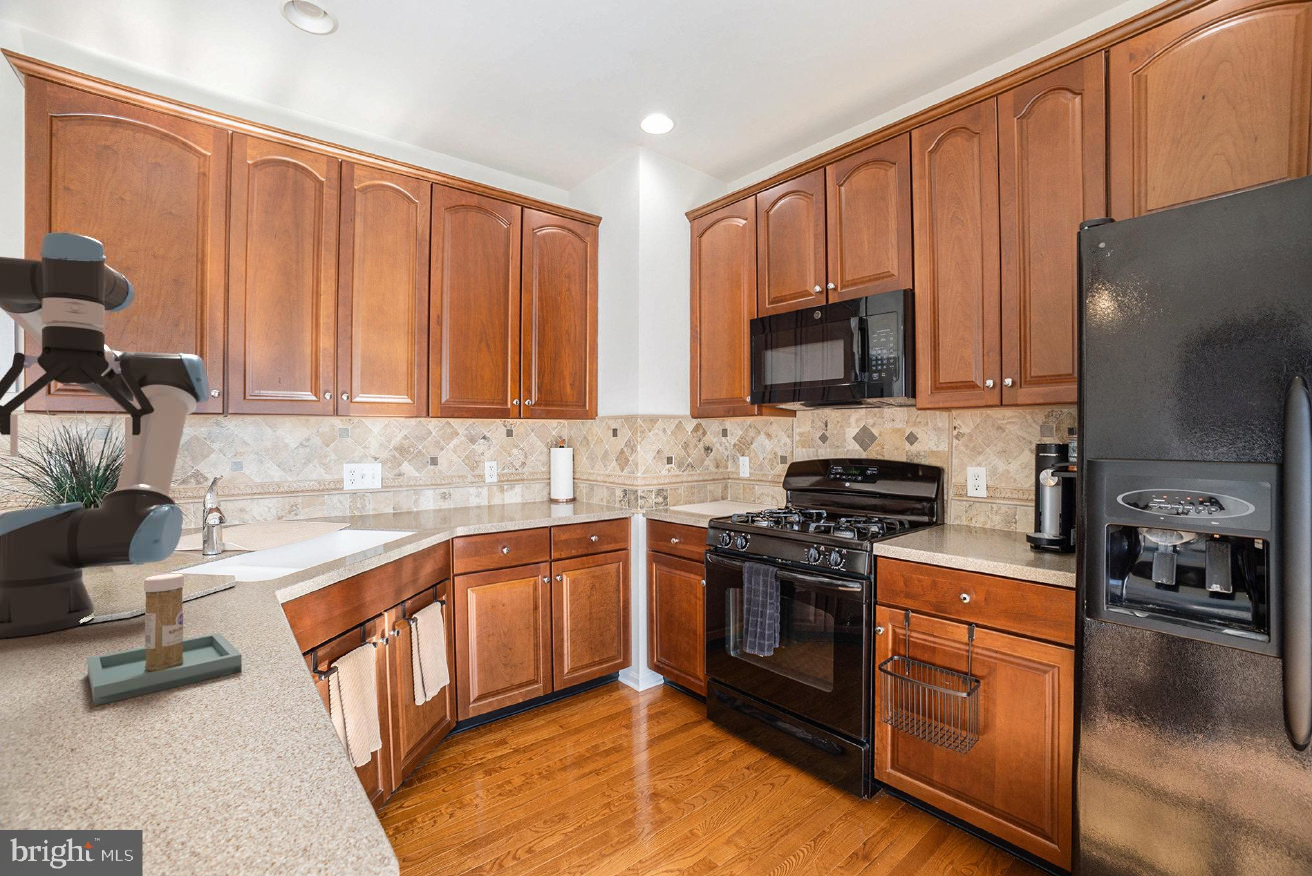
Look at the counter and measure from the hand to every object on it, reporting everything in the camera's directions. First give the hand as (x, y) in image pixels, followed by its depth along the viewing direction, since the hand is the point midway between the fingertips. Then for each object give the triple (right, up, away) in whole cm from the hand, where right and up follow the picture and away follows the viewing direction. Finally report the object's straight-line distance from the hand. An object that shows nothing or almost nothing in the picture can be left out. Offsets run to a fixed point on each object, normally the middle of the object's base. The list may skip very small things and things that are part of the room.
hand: (74, 455), depth 99 cm
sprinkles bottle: (+24, -31, -11) cm, 41 cm away
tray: (+24, -32, -11) cm, 42 cm away
